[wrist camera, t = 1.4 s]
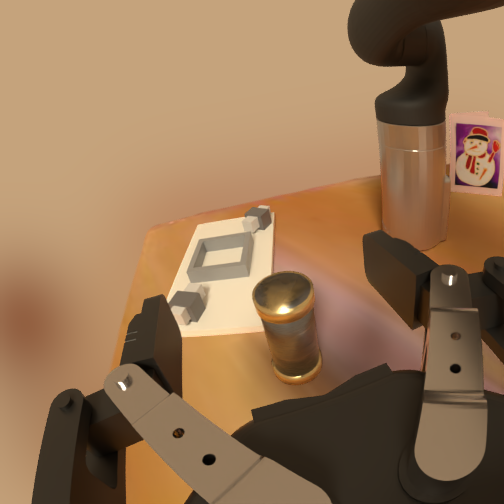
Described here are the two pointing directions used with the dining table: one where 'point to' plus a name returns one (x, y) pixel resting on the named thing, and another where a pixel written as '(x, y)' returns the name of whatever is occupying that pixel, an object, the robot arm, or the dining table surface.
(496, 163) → the greeting card
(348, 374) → the dining table surface
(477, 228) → the dining table surface
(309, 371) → the cylinder
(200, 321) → the stand
